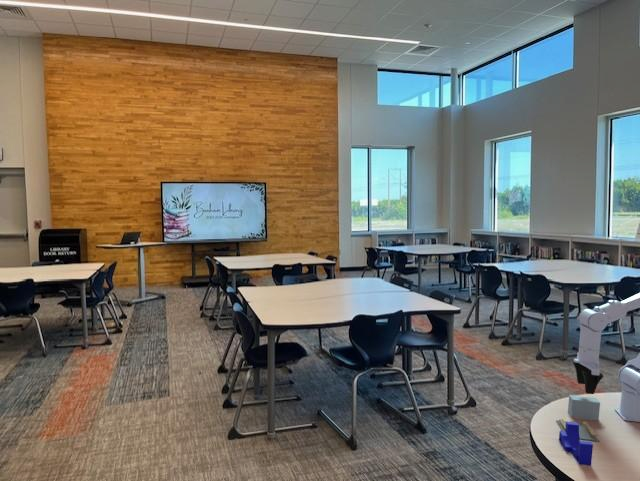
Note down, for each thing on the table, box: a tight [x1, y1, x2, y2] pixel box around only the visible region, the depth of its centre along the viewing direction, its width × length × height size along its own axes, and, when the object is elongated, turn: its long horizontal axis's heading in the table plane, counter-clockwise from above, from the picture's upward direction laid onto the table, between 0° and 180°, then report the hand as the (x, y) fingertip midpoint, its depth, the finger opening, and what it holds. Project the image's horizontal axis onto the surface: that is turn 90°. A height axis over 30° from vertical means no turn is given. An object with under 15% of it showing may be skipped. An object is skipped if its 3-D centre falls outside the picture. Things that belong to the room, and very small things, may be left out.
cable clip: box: [558, 421, 594, 466], centre depth 131 cm, size 12×4×6 cm, turn 169°
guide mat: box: [555, 419, 600, 442], centre depth 143 cm, size 9×10×1 cm
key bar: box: [567, 394, 601, 421], centre depth 152 cm, size 8×4×6 cm, turn 78°
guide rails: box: [558, 418, 598, 439], centre depth 142 cm, size 8×8×1 cm
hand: (585, 388), depth 151 cm, fingers open, 7 cm apart
